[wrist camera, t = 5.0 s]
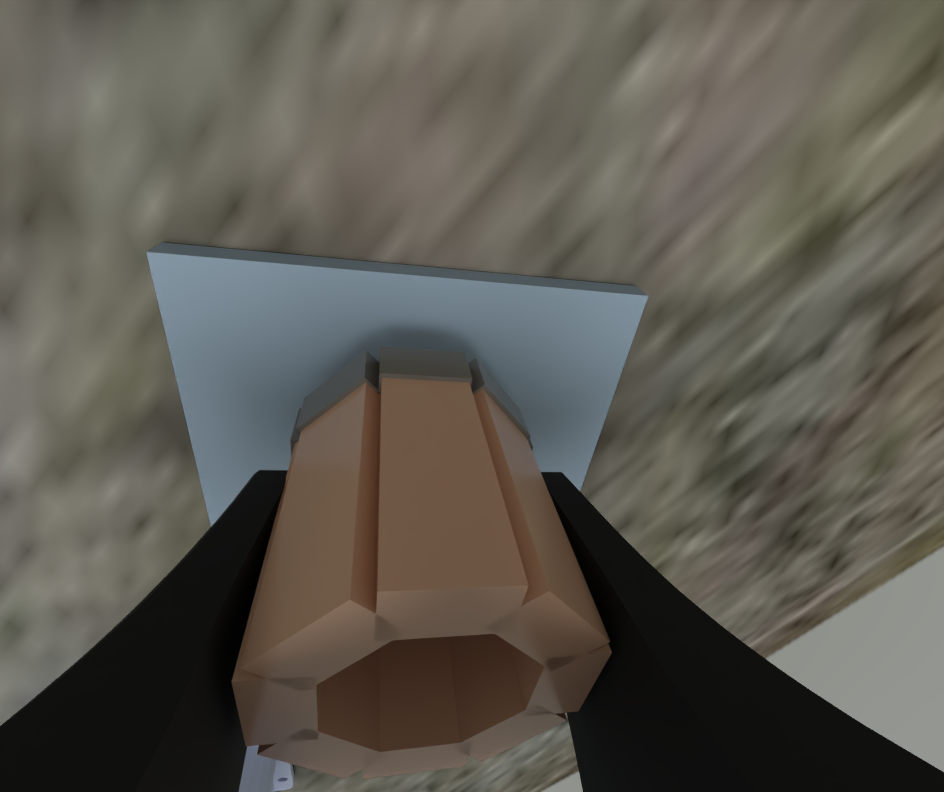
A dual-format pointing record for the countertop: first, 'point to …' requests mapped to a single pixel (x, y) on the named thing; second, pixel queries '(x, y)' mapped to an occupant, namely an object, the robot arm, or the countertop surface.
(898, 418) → the countertop surface
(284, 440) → the pin board
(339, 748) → the sleeve
